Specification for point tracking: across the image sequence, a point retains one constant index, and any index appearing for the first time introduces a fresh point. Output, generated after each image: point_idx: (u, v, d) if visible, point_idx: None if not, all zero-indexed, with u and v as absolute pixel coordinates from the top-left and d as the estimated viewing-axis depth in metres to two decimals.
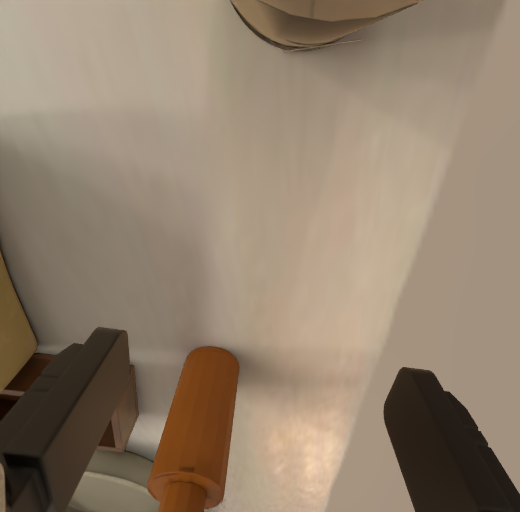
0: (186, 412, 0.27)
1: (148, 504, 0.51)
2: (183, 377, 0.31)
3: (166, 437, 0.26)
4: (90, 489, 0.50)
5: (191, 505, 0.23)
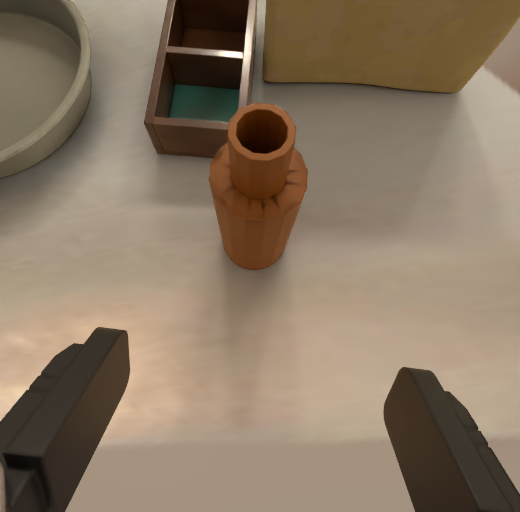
0: None
1: None
2: None
3: None
4: None
5: (285, 175, 0.18)
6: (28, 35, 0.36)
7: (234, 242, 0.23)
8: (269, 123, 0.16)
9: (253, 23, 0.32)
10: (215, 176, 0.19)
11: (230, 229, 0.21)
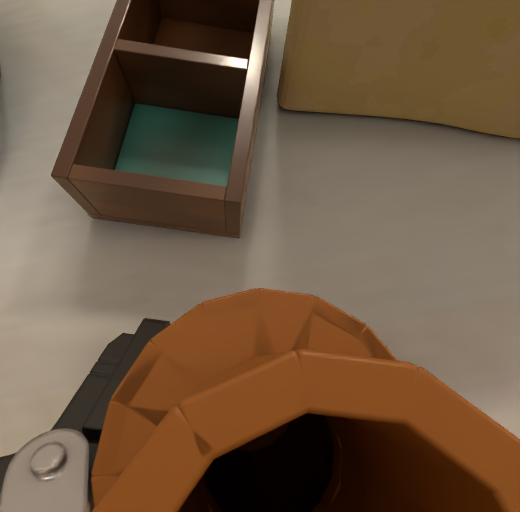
0: None
1: None
2: None
3: None
4: None
5: None
6: None
7: None
8: None
9: (268, 14, 0.19)
10: (116, 462, 0.05)
11: None
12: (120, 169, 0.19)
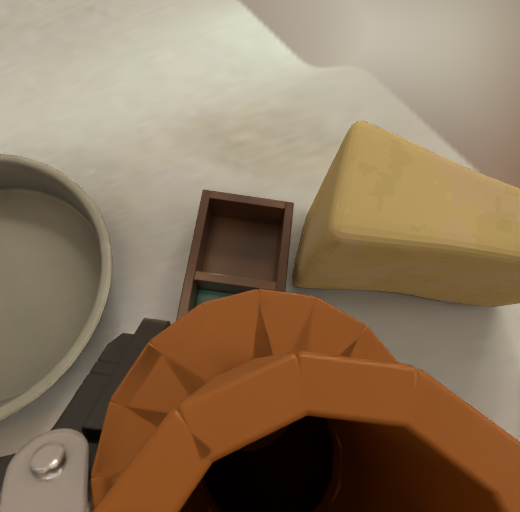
0: None
1: None
2: None
3: None
4: None
5: None
6: (45, 217, 0.33)
7: None
8: None
9: (288, 244, 0.30)
10: (116, 463, 0.05)
11: None
12: None
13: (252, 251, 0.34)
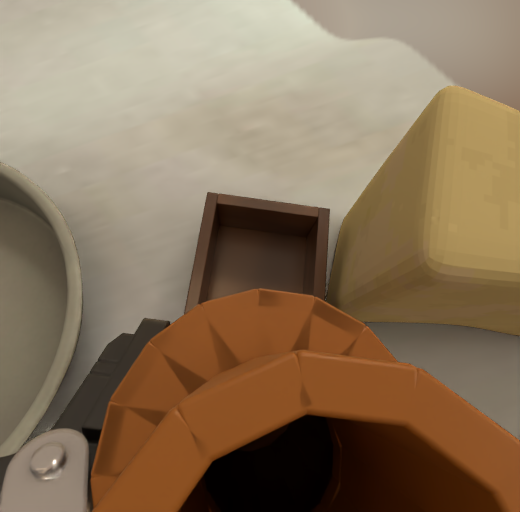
0: None
1: None
2: None
3: None
4: None
5: None
6: (0, 229, 0.25)
7: None
8: None
9: (325, 266, 0.22)
10: (115, 463, 0.05)
11: None
12: None
13: (272, 272, 0.26)
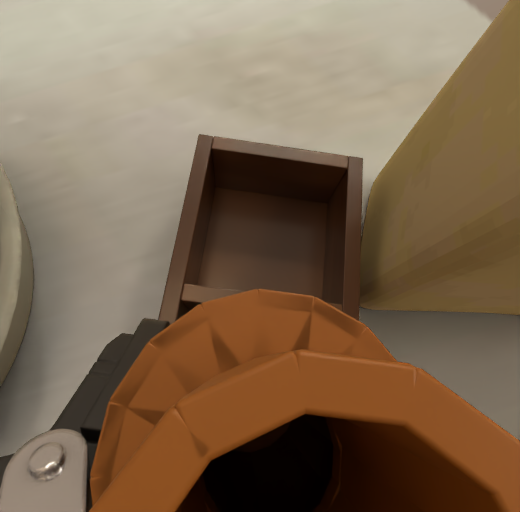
0: None
1: None
2: None
3: None
4: None
5: None
6: None
7: None
8: None
9: (359, 232, 0.16)
10: (115, 463, 0.05)
11: None
12: None
13: (284, 247, 0.20)
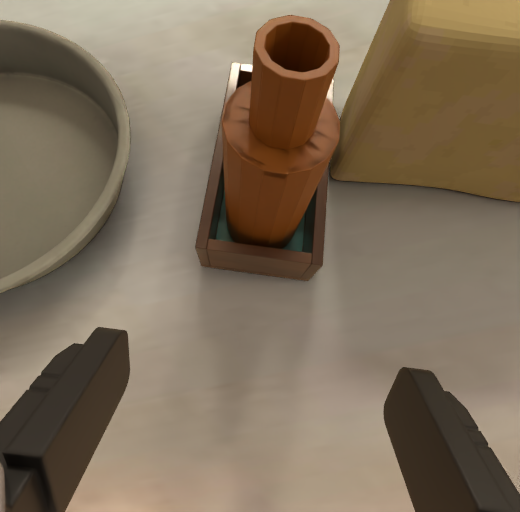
0: None
1: None
2: None
3: None
4: None
5: (316, 118, 0.14)
6: (51, 102, 0.30)
7: (242, 212, 0.20)
8: (305, 47, 0.13)
9: None
10: (229, 119, 0.16)
11: (241, 191, 0.18)
12: (221, 230, 0.27)
13: None
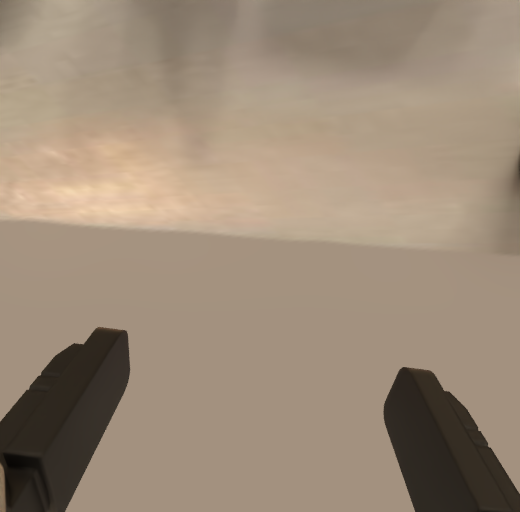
0: None
1: None
2: None
3: None
4: None
5: None
6: None
7: None
8: None
9: None
10: None
11: None
12: None
13: None
